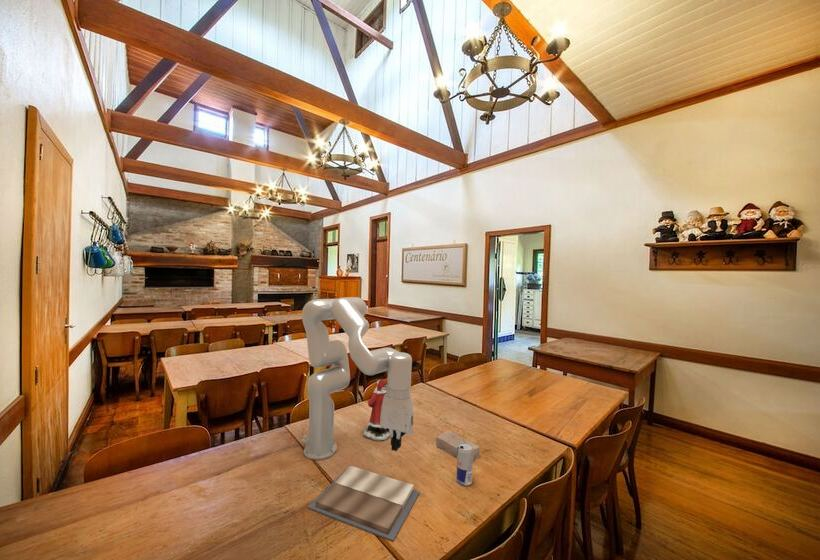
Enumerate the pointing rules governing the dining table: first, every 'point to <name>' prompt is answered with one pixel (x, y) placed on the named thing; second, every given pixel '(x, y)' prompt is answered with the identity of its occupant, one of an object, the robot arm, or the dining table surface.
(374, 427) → the santa figurine
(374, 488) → the loose plank
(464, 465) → the energy drink
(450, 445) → the brick
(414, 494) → the underlay mat
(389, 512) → the laid plank
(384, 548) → the dining table surface
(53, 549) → the dining table surface
